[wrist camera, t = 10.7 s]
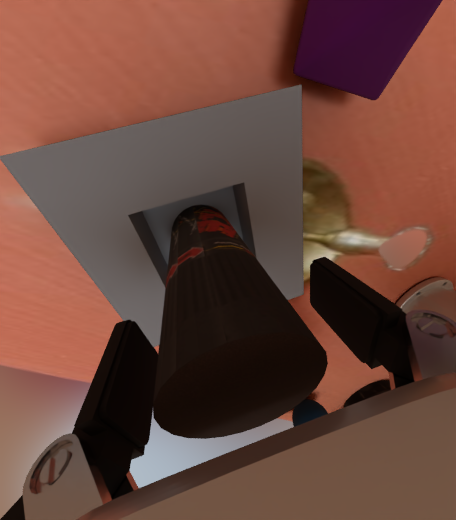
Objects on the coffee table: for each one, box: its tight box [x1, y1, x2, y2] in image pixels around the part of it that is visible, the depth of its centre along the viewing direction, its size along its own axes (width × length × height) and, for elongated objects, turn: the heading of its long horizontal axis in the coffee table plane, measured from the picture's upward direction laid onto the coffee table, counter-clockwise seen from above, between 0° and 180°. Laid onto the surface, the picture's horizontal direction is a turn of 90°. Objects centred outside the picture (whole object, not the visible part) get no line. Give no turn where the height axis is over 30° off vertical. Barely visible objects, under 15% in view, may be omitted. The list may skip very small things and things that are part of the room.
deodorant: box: [153, 204, 328, 439], centre depth 13 cm, size 6×6×15 cm
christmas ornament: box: [292, 399, 328, 427], centre depth 42 cm, size 8×8×10 cm
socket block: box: [0, 84, 304, 347], centre depth 17 cm, size 18×18×4 cm
